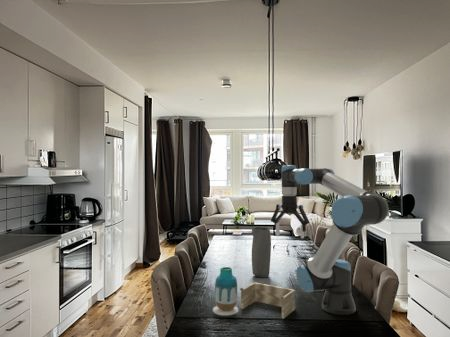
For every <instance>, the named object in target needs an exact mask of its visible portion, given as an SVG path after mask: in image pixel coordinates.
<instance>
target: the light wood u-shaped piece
mask: <svg viewBox="0 0 450 337" xmlns="http://www.w3.org/2000/svg"><path fill="white" fill-rule="evenodd" d="M239 290H240V295H241V296H240V306H241V307H240V308H242V310H244V309H245V308H247V307H248V305H249V306H251V305H252V304H253V303H255V302H257V303H258V302H259V303H263V304H267V305H271V306H275V307H279V308H280V307H281V319H283V320H284V319H285V318H287V317H288V316H289V315H290V314H292V313H293V312H294V311H295V310H296V289H293V288H287V287H283V286H282V287H281V286H276V285H270V284H264V283H259V282H252V283H251V284H248V285H247V286H245V287H240V288H239Z"/></svg>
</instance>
